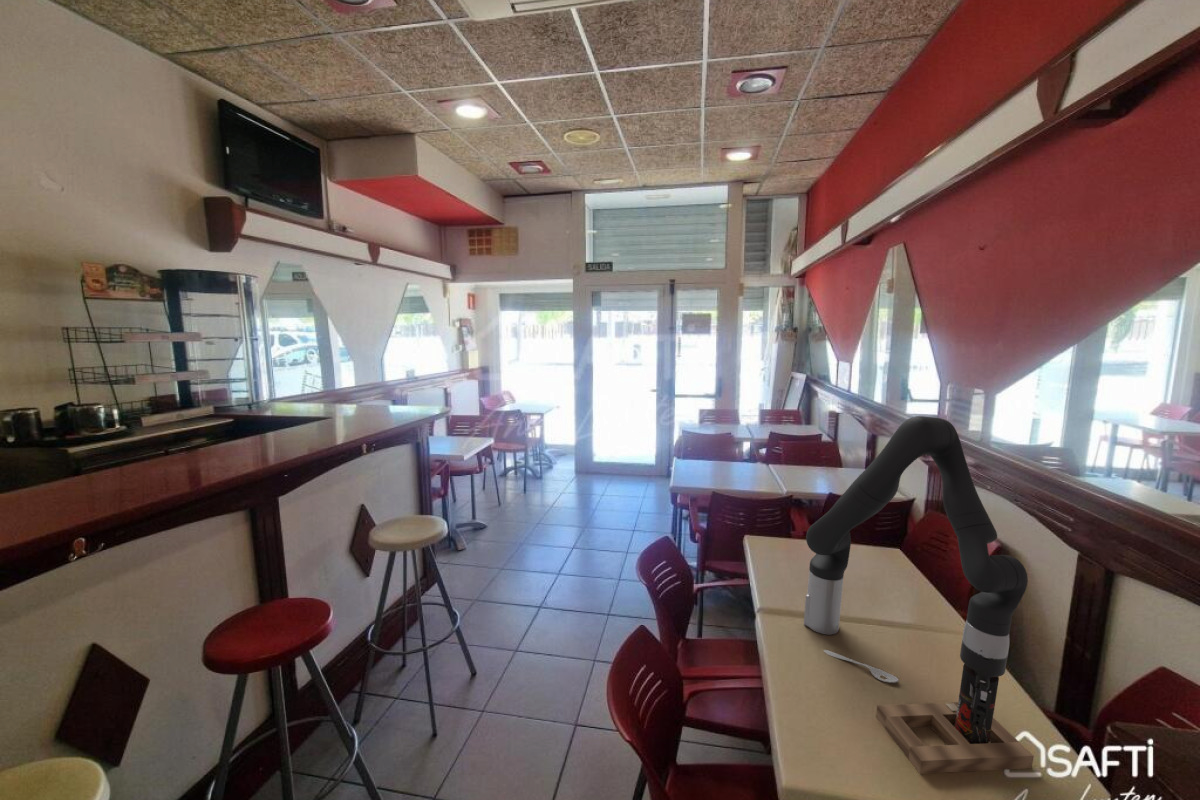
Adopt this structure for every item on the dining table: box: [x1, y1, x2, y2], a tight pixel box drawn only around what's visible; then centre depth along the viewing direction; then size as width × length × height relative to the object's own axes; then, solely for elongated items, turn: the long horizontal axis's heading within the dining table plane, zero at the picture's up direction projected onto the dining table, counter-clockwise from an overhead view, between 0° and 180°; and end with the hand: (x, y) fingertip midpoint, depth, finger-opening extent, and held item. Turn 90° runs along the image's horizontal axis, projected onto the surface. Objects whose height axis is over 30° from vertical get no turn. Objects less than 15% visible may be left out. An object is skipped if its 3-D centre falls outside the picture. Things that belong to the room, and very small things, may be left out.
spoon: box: [823, 649, 900, 684], centre depth 126 cm, size 4×21×2 cm, turn 46°
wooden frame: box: [875, 701, 1035, 775], centre depth 102 cm, size 24×14×3 cm, turn 93°
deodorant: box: [954, 663, 1000, 744], centre depth 101 cm, size 6×6×15 cm
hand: (974, 714), depth 102 cm, fingers closed on deodorant, 6 cm apart
